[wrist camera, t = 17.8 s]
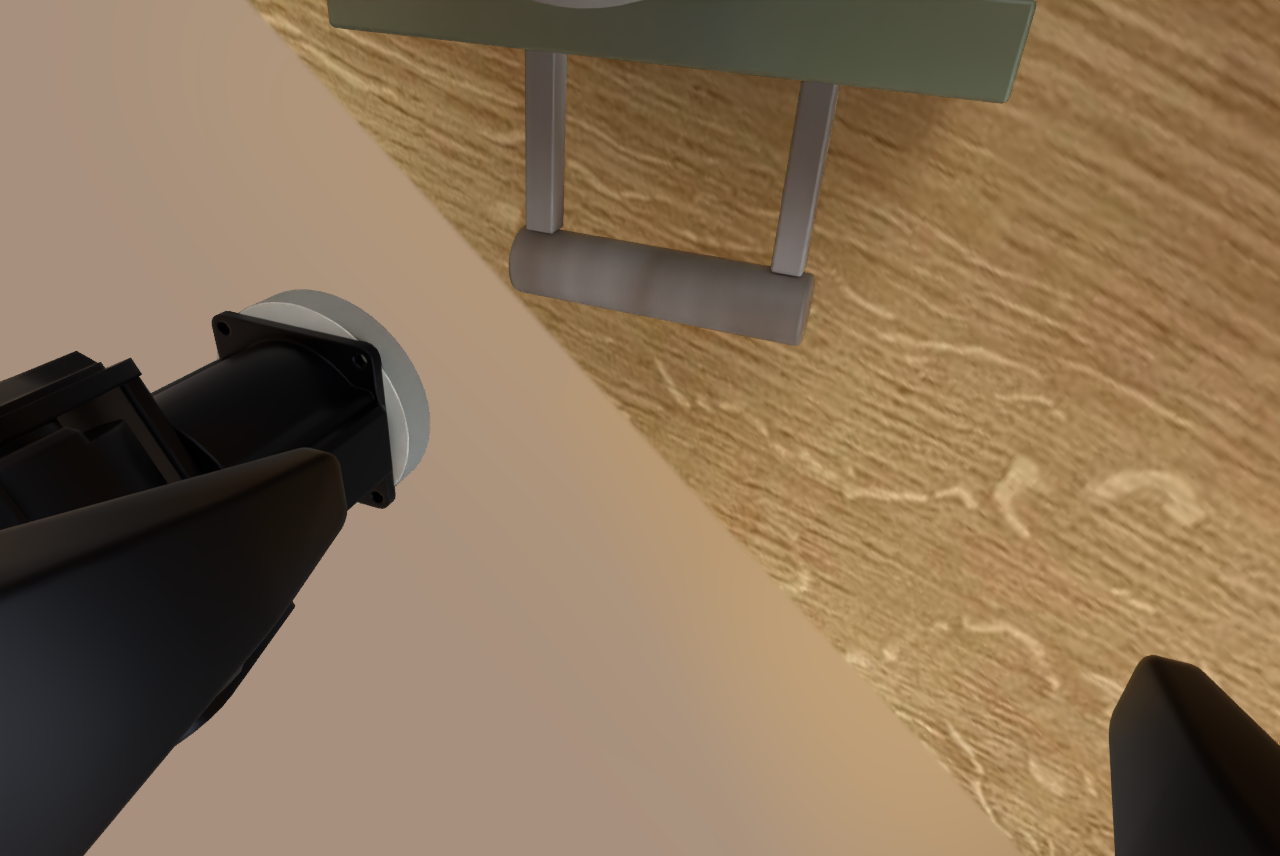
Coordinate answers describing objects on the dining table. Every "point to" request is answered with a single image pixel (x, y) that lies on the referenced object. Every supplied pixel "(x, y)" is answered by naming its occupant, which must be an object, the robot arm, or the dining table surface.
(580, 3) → the light bulb
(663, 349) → the dining table surface
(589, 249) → the drawer
